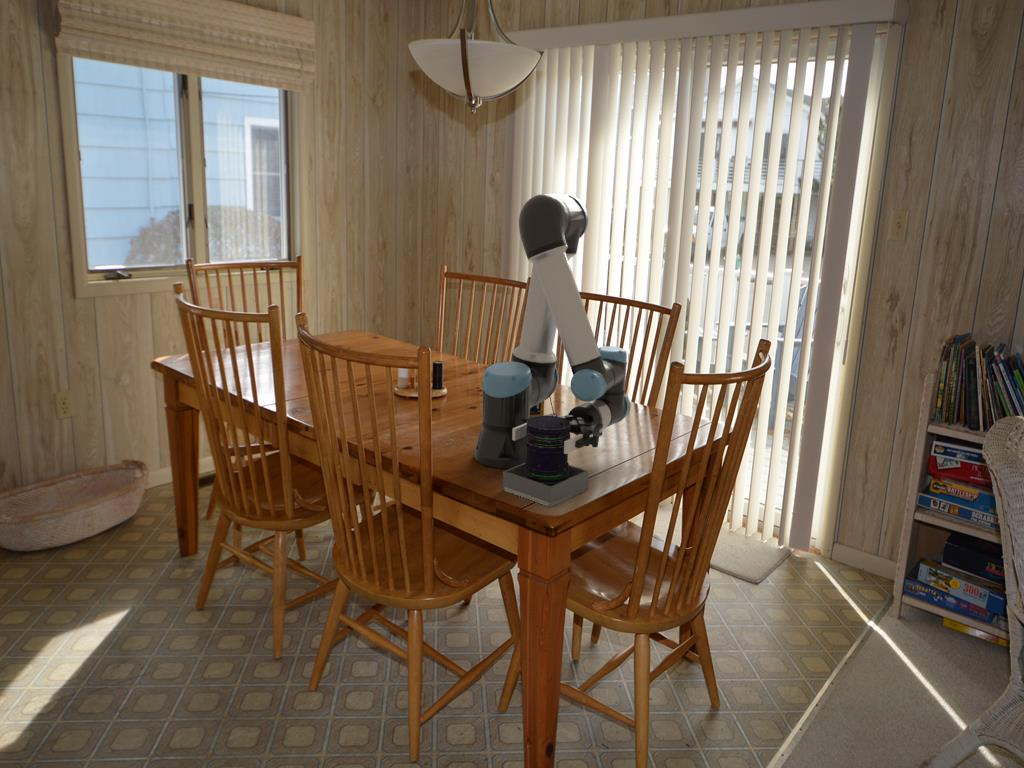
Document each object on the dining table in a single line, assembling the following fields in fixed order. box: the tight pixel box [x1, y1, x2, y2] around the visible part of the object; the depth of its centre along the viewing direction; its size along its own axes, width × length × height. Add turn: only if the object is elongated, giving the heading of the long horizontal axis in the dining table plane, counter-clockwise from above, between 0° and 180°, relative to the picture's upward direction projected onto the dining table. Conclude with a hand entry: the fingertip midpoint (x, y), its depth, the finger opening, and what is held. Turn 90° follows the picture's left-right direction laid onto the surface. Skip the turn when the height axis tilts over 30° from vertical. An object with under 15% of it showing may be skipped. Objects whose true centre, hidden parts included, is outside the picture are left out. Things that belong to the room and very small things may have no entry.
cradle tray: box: [502, 463, 589, 508], centre depth 175 cm, size 14×14×4 cm
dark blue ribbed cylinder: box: [525, 416, 571, 486], centre depth 174 cm, size 10×10×15 cm
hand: (538, 441), depth 170 cm, fingers open, 13 cm apart
